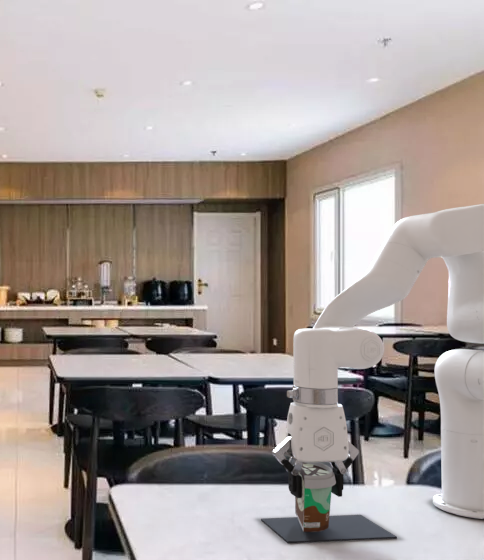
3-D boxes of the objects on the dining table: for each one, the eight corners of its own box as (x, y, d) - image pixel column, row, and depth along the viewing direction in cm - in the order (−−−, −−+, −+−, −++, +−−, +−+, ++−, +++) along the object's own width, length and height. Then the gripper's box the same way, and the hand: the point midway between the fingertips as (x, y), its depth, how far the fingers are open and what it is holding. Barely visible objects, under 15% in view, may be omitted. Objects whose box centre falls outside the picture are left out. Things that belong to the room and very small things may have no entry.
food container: (342, 538, 106) (343, 478, 106) (304, 534, 107) (305, 476, 107) (328, 513, 118) (328, 460, 118) (294, 510, 119) (294, 458, 119)
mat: (360, 516, 119) (360, 514, 119) (397, 538, 108) (397, 536, 108) (260, 520, 117) (260, 518, 117) (287, 543, 106) (287, 541, 106)
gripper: (279, 400, 108) (279, 503, 108) (372, 399, 110) (373, 500, 110) (261, 393, 115) (261, 490, 115) (348, 392, 118) (349, 487, 117)
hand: (315, 494), depth 112 cm, fingers closed on food container, 7 cm apart
